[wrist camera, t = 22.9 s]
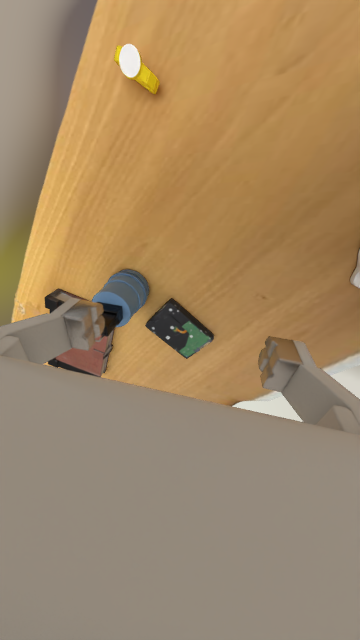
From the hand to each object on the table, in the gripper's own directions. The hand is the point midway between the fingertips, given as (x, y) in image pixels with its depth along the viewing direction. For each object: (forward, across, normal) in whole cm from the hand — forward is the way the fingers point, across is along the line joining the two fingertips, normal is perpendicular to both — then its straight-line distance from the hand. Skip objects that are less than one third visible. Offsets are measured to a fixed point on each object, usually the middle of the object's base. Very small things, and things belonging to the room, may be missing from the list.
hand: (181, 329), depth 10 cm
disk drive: (+35, +3, +27) cm, 44 cm away
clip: (+24, +17, +18) cm, 34 cm away
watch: (+36, +14, -17) cm, 42 cm away
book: (+35, +31, +37) cm, 60 cm away
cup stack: (+35, +16, +18) cm, 43 cm away
